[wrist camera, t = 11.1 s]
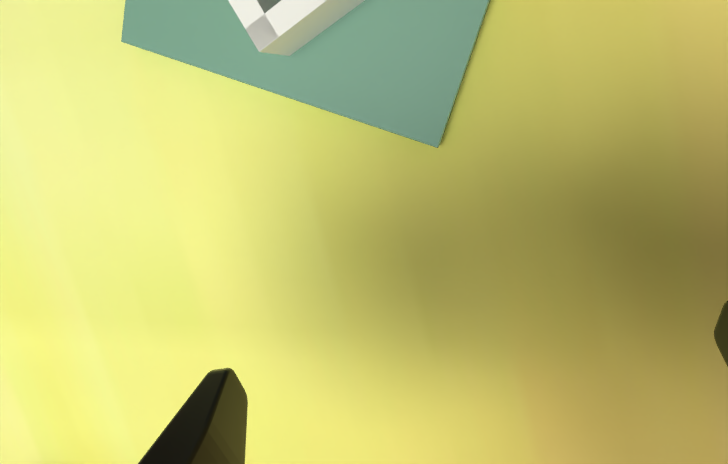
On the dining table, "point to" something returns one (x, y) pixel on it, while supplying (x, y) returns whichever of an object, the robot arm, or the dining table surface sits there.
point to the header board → (326, 52)
